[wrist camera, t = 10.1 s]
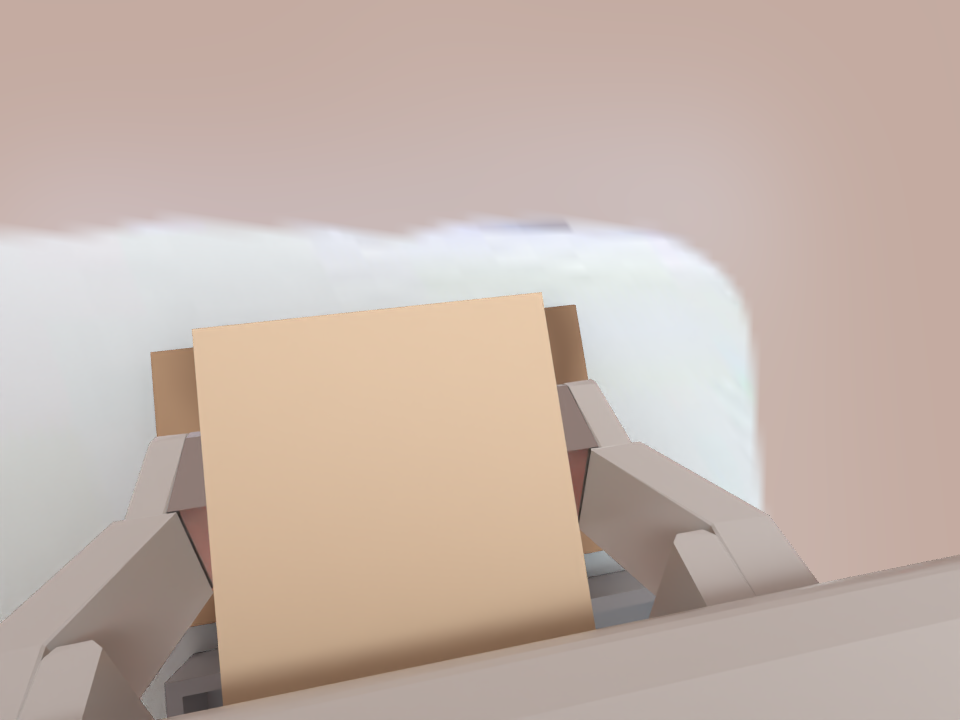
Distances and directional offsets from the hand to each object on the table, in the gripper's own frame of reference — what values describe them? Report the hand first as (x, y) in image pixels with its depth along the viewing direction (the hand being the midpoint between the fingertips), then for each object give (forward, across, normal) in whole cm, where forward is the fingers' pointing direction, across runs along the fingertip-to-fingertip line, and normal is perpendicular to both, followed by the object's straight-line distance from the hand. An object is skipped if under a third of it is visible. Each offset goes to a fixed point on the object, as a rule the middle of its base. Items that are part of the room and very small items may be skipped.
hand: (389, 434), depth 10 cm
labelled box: (+3, 0, +4) cm, 5 cm away
